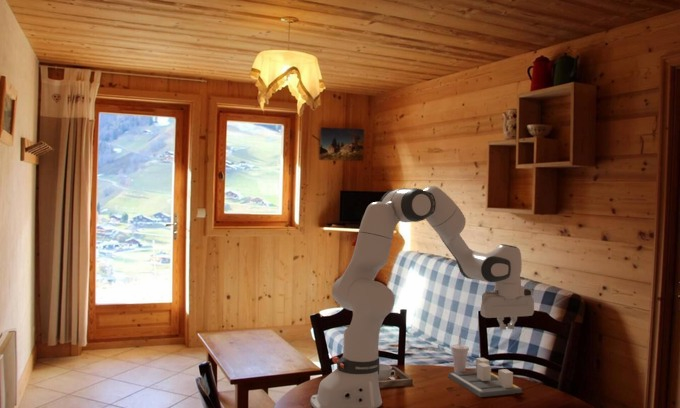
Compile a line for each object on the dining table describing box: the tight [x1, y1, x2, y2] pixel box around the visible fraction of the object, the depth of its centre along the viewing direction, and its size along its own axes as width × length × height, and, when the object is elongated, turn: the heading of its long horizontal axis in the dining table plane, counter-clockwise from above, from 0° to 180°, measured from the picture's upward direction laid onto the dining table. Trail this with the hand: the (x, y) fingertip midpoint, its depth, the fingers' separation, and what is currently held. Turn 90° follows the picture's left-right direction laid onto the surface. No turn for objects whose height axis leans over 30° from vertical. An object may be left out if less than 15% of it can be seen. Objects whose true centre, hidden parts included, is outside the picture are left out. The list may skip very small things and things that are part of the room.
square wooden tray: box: [379, 366, 414, 389], centre depth 195 cm, size 15×15×2 cm
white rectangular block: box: [477, 363, 492, 381], centre depth 192 cm, size 3×4×5 cm
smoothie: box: [451, 334, 470, 373], centre depth 206 cm, size 6×6×14 cm
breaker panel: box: [447, 357, 523, 398], centre depth 192 cm, size 16×21×7 cm
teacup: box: [378, 363, 396, 381], centre depth 195 cm, size 10×10×5 cm
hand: (506, 329), depth 195 cm, fingers closed
